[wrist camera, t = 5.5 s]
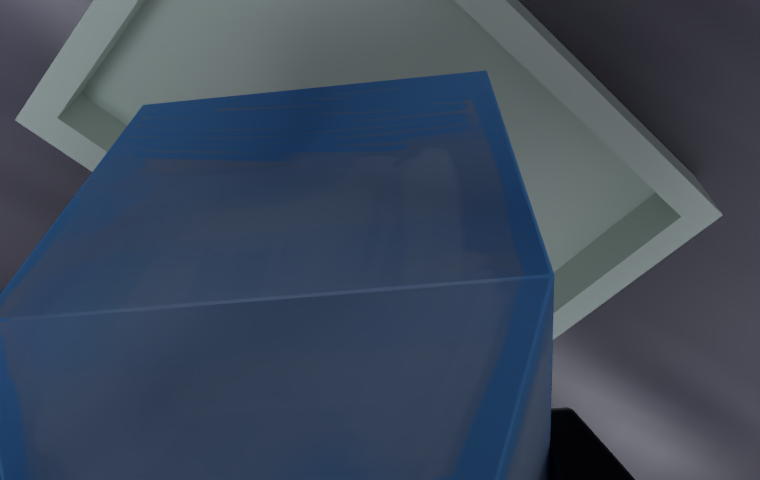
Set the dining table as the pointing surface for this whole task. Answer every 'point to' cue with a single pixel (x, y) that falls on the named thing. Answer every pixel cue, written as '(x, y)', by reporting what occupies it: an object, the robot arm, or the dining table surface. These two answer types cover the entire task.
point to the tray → (390, 62)
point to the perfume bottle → (289, 297)
